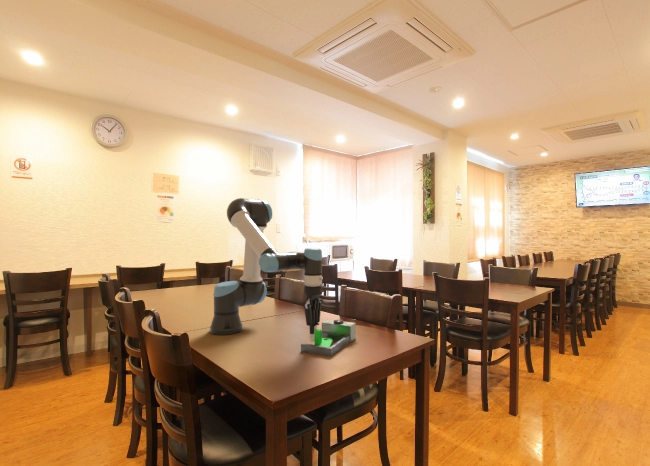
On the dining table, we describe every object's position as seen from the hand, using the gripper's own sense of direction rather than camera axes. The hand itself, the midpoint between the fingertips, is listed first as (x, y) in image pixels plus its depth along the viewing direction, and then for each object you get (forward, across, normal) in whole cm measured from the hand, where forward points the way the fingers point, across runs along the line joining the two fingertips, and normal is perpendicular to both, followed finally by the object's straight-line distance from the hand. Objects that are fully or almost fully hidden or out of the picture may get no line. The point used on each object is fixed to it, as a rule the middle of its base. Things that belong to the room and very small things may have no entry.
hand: (313, 340), depth 143 cm
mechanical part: (+2, +1, -5) cm, 5 cm away
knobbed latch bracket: (+2, +4, -6) cm, 7 cm away
